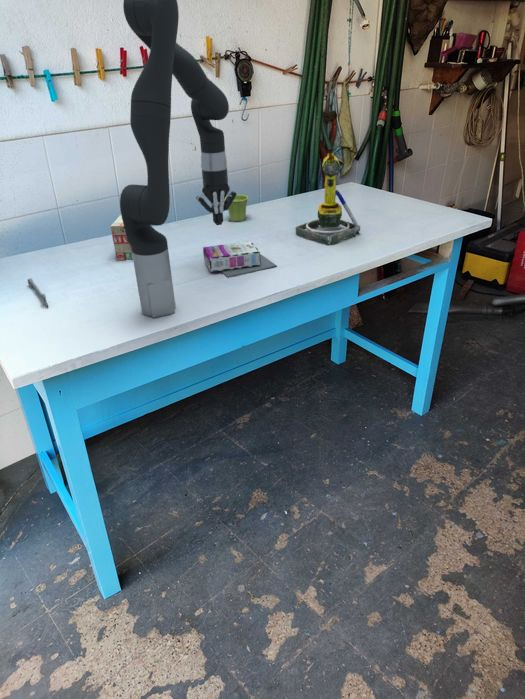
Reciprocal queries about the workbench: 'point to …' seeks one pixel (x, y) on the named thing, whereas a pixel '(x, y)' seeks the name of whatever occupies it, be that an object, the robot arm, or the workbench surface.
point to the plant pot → (238, 208)
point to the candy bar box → (231, 256)
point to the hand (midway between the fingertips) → (218, 224)
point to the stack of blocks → (121, 241)
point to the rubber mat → (250, 268)
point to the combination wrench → (38, 291)
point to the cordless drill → (330, 210)
